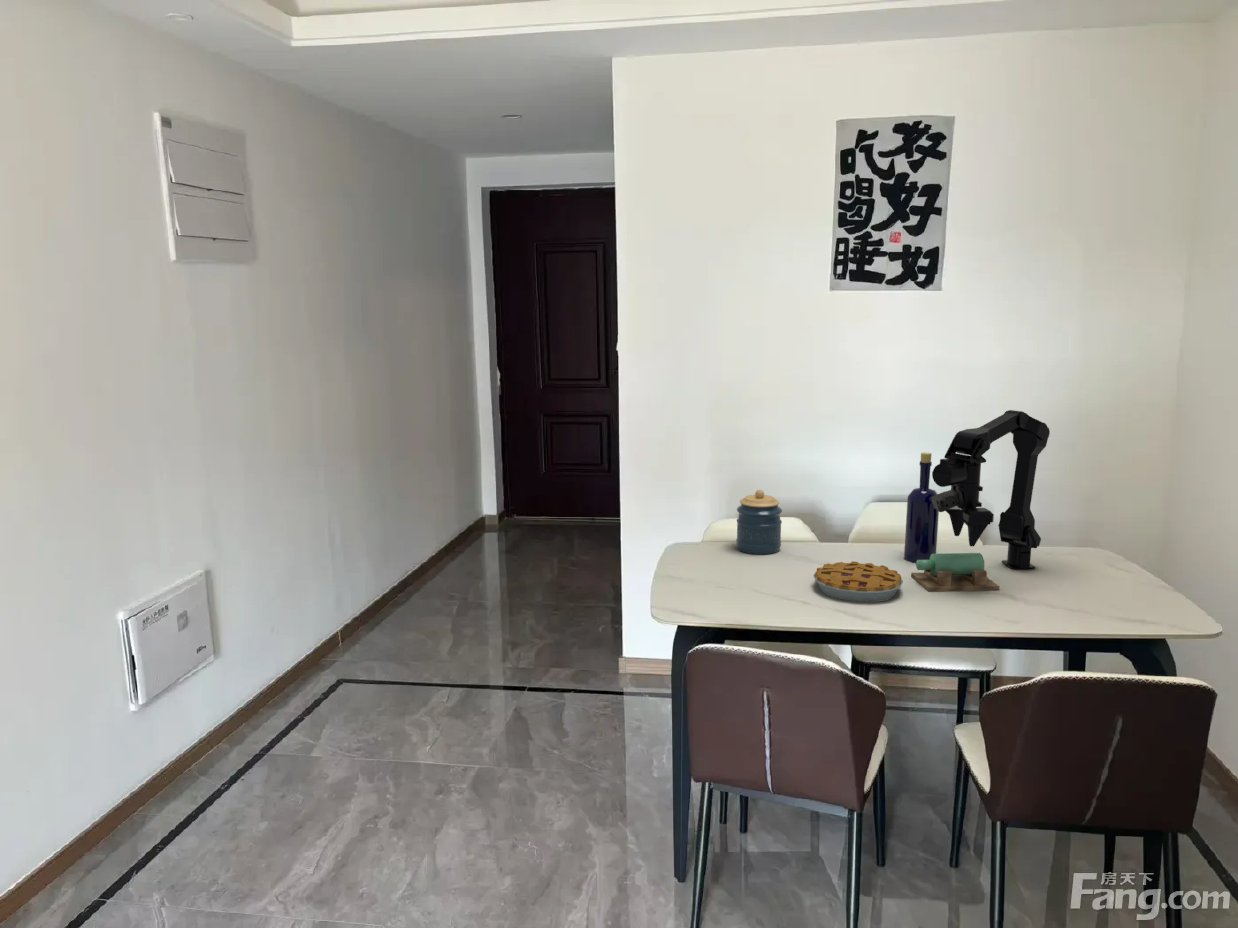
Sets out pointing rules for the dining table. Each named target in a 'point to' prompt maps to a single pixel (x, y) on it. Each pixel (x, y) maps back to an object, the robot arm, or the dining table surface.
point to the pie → (858, 581)
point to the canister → (759, 524)
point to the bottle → (921, 517)
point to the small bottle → (952, 563)
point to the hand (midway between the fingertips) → (964, 540)
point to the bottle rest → (955, 581)
